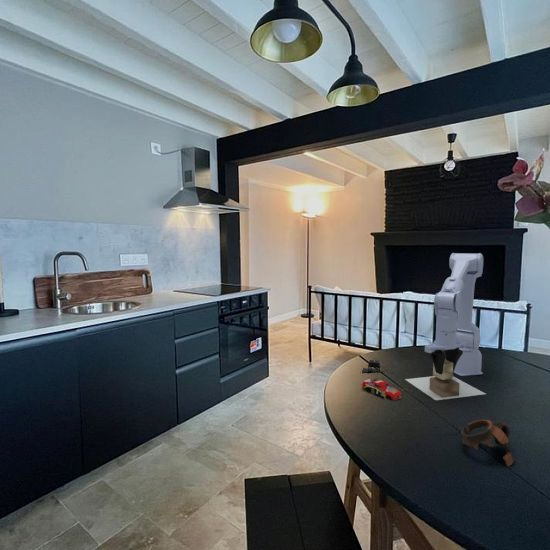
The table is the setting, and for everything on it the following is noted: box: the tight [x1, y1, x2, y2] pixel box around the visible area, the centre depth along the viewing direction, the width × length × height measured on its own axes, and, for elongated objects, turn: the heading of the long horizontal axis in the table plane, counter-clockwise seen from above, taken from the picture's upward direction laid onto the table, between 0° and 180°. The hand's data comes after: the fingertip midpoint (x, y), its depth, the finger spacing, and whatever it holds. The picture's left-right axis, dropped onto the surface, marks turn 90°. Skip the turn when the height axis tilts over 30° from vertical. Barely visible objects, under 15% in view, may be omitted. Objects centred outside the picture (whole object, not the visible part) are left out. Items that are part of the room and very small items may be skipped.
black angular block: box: [361, 359, 386, 374], centre depth 125 cm, size 12×7×5 cm, turn 69°
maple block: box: [432, 359, 454, 380], centre depth 106 cm, size 4×4×5 cm
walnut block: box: [429, 376, 460, 398], centre depth 106 cm, size 6×6×4 cm
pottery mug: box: [460, 419, 515, 467], centre depth 77 cm, size 12×10×8 cm
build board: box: [404, 375, 486, 401], centre depth 111 cm, size 18×16×1 cm
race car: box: [361, 378, 403, 401], centre depth 107 cm, size 13×6×4 cm, turn 38°
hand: (444, 372), depth 106 cm, fingers closed on maple block, 4 cm apart
